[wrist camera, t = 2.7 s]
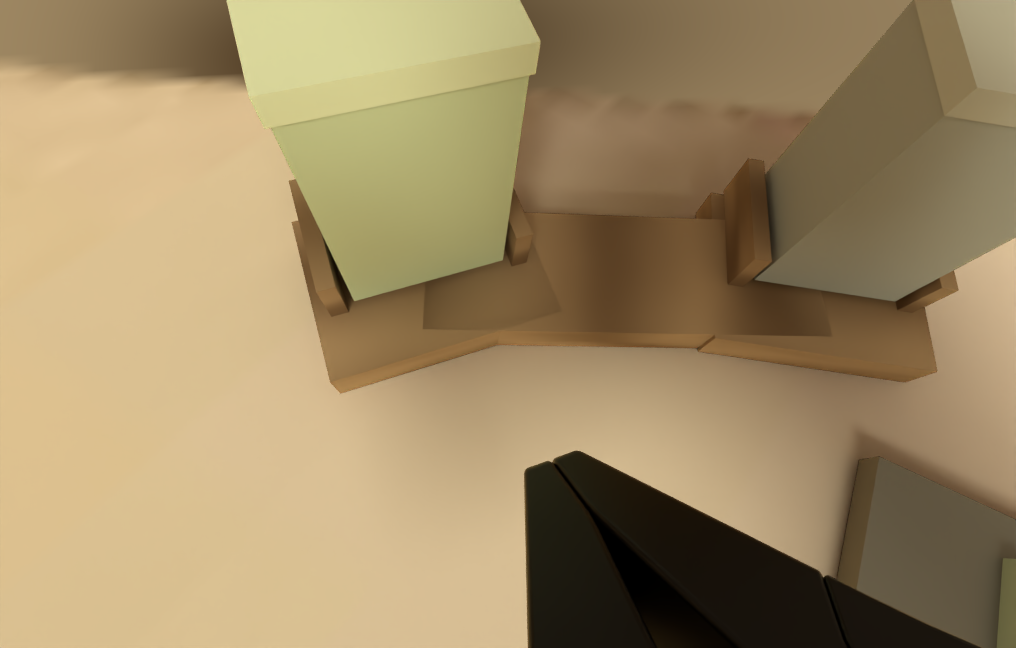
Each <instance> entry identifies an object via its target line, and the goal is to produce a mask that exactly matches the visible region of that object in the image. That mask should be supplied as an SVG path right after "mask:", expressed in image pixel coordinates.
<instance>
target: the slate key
mask: <svg viewBox="0 0 1016 648" xmlns="http://www.w3.org/2000/svg"><path fill="white" fill-rule="evenodd" d="M765 181H766V194H767V206H768V219H769V232H770V244H771V257H772V262H771V263H770V264H769V265H767V266H766V267H765V268H764V269H763V270H762V271H761V272H759V273H758V274H757V275H756V276H755V277H754V280H758V281H765V282H771V283H778V284H784V285H791V286H797V287H804V288H810V289H817V290H823V291H830V292H836V293H843V294H849V295H856V296H862V297H869V298H875V299H882V300H888V301H897V300H899V299H901V298H902V297H904V296H906V295H908V294H910V293H912V292H914V291H916V290H918V289H919V288H921V287H923V286H925V285H927V284H929V283H931V282H933V281H934V280H936V279H938V278H940V277H942V276H944V275H946V274H948V273H950V272H951V271H953V270H955V269H957V268H959V267H961V266H963V265H965V264H967V263H968V262H970V261H972V260H974V259H976V258H978V257H980V256H982V255H983V254H985V253H987V252H989V251H991V250H993V249H995V248H997V247H999V246H1000V245H1002V244H1004V243H1006V242H1008V241H1010V240H1012V239H1014V238H1016V0H913V1H912V2H911V3H910V4H909V5H908V7H907V8H906V9H905V10H904V11H903V12H902V14H901V15H900V16H899V17H898V18H897V19H896V21H895V22H894V23H893V24H892V25H891V27H890V28H889V29H888V30H887V31H886V33H885V34H884V35H883V36H882V37H881V38H880V40H879V41H878V42H877V43H876V44H875V45H874V47H873V48H872V49H871V50H870V51H869V53H868V54H867V55H866V56H865V57H864V58H863V60H862V61H861V62H860V63H859V64H858V66H857V67H856V68H855V69H854V70H853V71H852V73H851V74H850V75H849V76H848V77H847V79H846V80H845V81H844V82H843V83H842V84H841V86H840V87H839V88H838V89H837V90H836V92H835V93H834V94H833V95H832V96H831V97H830V99H829V100H828V101H827V102H826V103H825V105H824V106H823V107H822V108H821V109H820V110H819V112H818V113H817V114H816V115H815V116H814V118H813V119H812V120H811V121H810V122H809V123H808V125H807V126H806V127H805V128H804V129H803V131H802V132H801V133H800V134H799V135H798V136H797V138H796V139H795V140H794V141H793V142H792V143H791V145H790V146H789V147H788V148H787V149H786V151H785V152H784V153H783V154H782V155H781V156H780V158H779V159H778V160H777V161H776V162H775V164H774V165H773V166H772V167H771V168H770V169H769V171H768V172H767V173H766V174H765Z"/></svg>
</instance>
